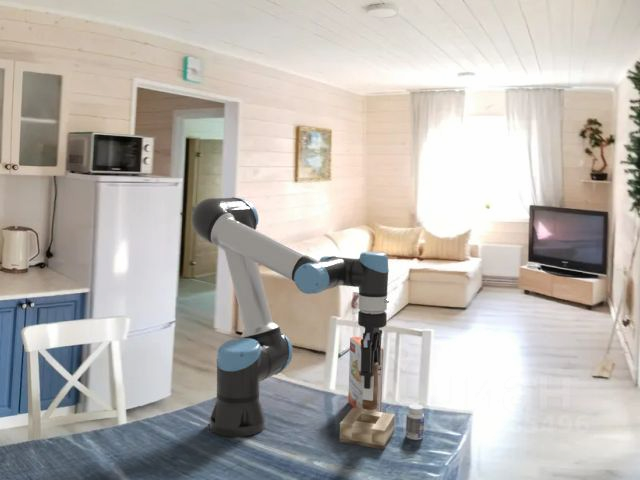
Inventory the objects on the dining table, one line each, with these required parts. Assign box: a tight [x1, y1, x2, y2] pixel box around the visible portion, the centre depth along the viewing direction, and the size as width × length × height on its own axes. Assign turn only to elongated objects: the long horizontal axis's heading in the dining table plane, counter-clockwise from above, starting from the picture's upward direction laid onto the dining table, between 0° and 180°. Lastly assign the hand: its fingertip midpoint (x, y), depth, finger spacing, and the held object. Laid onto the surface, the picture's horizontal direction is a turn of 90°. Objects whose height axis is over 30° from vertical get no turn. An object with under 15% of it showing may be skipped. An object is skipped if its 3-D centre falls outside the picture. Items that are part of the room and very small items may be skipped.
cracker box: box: [347, 336, 384, 412], centre depth 178 cm, size 14×6×21 cm, turn 16°
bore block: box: [338, 407, 396, 450], centre depth 160 cm, size 12×12×5 cm
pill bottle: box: [405, 403, 425, 441], centre depth 161 cm, size 5×5×8 cm
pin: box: [362, 362, 379, 410], centre depth 159 cm, size 4×4×12 cm
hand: (369, 396), depth 159 cm, fingers closed on pin, 4 cm apart
